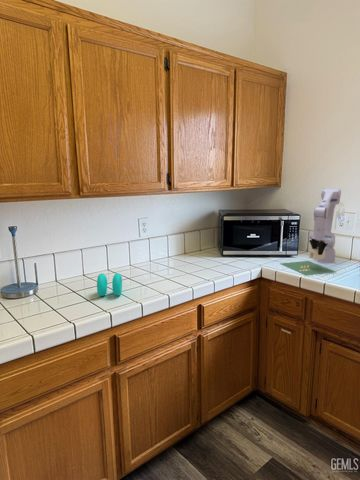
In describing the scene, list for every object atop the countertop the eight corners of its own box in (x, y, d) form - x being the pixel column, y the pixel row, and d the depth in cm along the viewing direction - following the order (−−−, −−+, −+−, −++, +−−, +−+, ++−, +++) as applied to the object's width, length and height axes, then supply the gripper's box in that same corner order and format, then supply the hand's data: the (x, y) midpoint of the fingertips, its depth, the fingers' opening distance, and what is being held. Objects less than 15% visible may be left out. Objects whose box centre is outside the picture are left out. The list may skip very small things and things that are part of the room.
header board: (307, 261, 204) (308, 256, 203) (337, 273, 182) (337, 267, 181) (279, 264, 198) (279, 259, 198) (305, 276, 176) (306, 271, 175)
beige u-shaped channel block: (319, 256, 188) (320, 248, 187) (324, 258, 185) (325, 249, 184) (309, 257, 186) (309, 249, 185) (313, 259, 183) (314, 250, 182)
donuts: (100, 291, 155) (99, 270, 153) (122, 290, 156) (121, 270, 153) (97, 299, 145) (95, 277, 143) (120, 299, 146) (119, 277, 144)
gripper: (304, 227, 188) (302, 251, 191) (322, 231, 174) (320, 257, 177) (315, 226, 190) (313, 250, 193) (333, 231, 176) (331, 256, 179)
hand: (317, 253), depth 185 cm, fingers closed on beige u-shaped channel block, 4 cm apart
